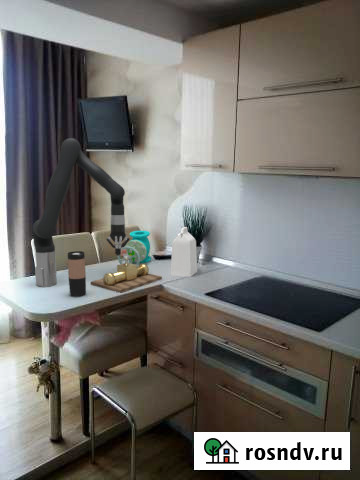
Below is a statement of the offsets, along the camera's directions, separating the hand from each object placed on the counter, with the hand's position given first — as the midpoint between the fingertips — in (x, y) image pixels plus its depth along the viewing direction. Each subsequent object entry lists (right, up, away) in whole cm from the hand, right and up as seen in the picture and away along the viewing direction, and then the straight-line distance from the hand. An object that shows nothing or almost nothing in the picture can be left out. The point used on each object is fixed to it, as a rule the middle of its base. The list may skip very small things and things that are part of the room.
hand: (118, 255), depth 210 cm
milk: (+36, -11, +10) cm, 39 cm away
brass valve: (+6, -14, -7) cm, 17 cm away
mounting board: (+6, -14, -7) cm, 17 cm away
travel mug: (-14, -18, -28) cm, 36 cm away
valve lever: (+4, -1, -3) cm, 5 cm away
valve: (+6, -7, +31) cm, 33 cm away
